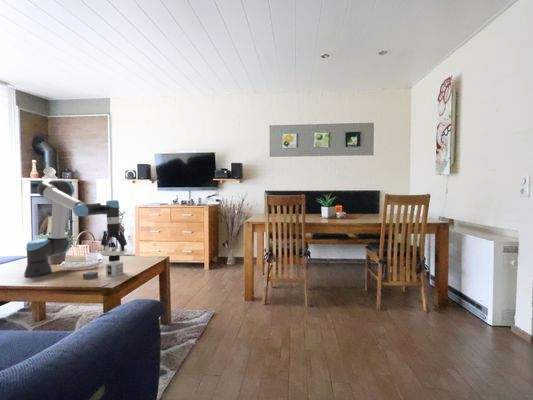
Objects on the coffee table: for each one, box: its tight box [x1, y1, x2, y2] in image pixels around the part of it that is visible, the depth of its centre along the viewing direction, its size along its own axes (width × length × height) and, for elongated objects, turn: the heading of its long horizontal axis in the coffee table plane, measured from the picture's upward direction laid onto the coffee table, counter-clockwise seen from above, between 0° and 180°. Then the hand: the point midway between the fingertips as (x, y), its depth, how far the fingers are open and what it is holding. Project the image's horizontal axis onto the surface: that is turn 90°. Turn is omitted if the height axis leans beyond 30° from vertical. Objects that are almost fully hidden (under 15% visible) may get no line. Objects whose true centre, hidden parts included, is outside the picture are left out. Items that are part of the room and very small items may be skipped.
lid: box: [100, 247, 128, 256], centre depth 204 cm, size 11×11×4 cm
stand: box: [82, 271, 99, 280], centre depth 197 cm, size 6×6×3 cm
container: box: [105, 254, 124, 277], centre depth 205 cm, size 8×8×13 cm
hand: (114, 255), depth 204 cm, fingers closed on lid, 11 cm apart
